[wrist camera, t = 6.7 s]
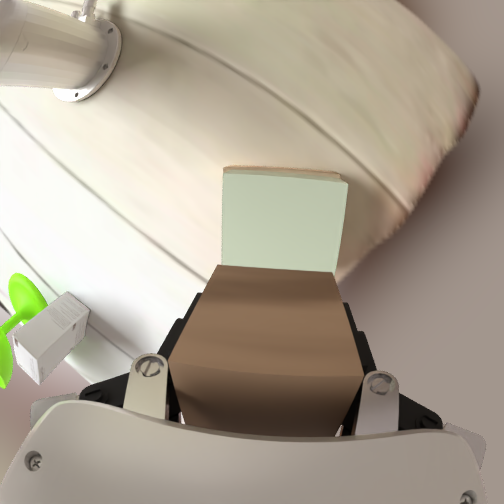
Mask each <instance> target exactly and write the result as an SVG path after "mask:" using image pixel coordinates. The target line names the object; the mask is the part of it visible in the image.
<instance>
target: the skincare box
mask: <svg viewBox="0 0 504 504" xmlns="http://www.w3.org/2000/svg"><path fill="white" fill-rule="evenodd" d="M89 313H90V310H89V309H88V308H87V307H86V306H85V305H83V304H82V303H81V302H80V301H78V300H77V299H76V298H75V297H74V296H72V295H71V294H70V293H69V292H67V291H66V292H65V293H64V294H63V295H61V296H60V297H59V298H57V299H56V300H55V301H54V302H52V303H51V304H50V305H48V306H47V307H46V308H45V309H43V310H42V311H41V312H39V313H38V314H37V315H36V316H34V317H33V318H32V319H31V320H29V321H28V322H27V323H26V324H25V325H23V326H22V327H21V328H20V329H19V330H17V331H16V332H15V333H14V334H13V342H14V352H15V355H16V359H17V364H18V365H19V366H20V367H21V368H22V369H23V370H24V371H25V372H26V373H27V374H28V375H29V376H30V377H31V378H32V379H33V380H34V381H35V382H36V383H37V384H39V385H41V383H42V382H43V381H44V380H45V379H46V378H47V377H48V375H49V374H50V373H51V372H52V371H53V370H54V369H55V368H56V367H57V365H58V364H59V363H60V362H61V361H62V360H63V359H64V358H65V357H66V356H67V355H68V354H69V353H70V352H71V351H72V350H73V348H74V347H75V346H76V345H77V344H78V343H79V342H80V341H81V340H82V339H83V338H84V337H85V330H86V324H87V319H88V316H89Z"/></svg>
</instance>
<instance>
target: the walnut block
mask: <svg viewBox="0 0 504 504" xmlns="http://www.w3.org/2000/svg"><path fill="white" fill-rule="evenodd" d="M168 364H169V368H170V372H171V376H172V380H173V384H174V387H175V391H176V395H177V398H178V402H179V405H180V409H181V412H182V415H183V418H184V422H185V424H186V425H190V426H196V427H201V428H207V429H213V430H219V431H226V432H234V433H242V434H252V435H264V436H280V437H335V435H336V433H337V431H338V429H339V427H340V425H341V424H342V422H343V420H344V418H345V416H346V414H347V412H348V410H349V408H350V406H351V404H352V402H353V400H354V397H355V395H356V393H357V391H358V389H359V387H360V384H361V382H362V380H363V377H364V373H363V369H362V365H361V362H360V358H359V355H358V351H357V348H356V344H355V341H354V337H353V334H352V331H351V327H350V324H349V321H348V318H347V314H346V311H345V308H344V305H343V302H342V299H341V296H340V293H339V290H338V287H337V284H336V281H335V278H334V275H333V273H332V272H321V271H304V270H288V269H273V268H258V267H244V266H230V265H217V267H216V268H215V270H214V272H213V274H212V276H211V278H210V280H209V282H208V283H207V285H206V287H205V289H204V291H203V293H202V295H201V297H200V299H199V300H198V302H197V304H196V306H195V308H194V310H193V312H192V314H191V316H190V318H189V320H188V322H187V323H186V325H185V327H184V329H183V331H182V333H181V335H180V337H179V339H178V341H177V343H176V345H175V347H174V349H173V351H172V353H171V355H170V357H169V359H168Z"/></svg>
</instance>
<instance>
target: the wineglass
mask: <svg viewBox="0 0 504 504" xmlns="http://www.w3.org/2000/svg"><path fill="white" fill-rule="evenodd" d="M8 288H9V296H10V299H11V302H12V305H13V307H14V310H15V311H16V314H15V315H13V316H12V317H11V318H10V319H9V320H8V321H6V322H5V323H4V324H3V325H2V326H1V327H0V387H2V388H4V389H5V388H6V386H7V385H8V383H9V381H10V378H11V375H12V370H13V356H12V351H11V346H10V344H9V341H8V339H7V337H6V334H7V333H8V332H9V331H10V330H11V329H13V328H14V327H15V326H16V325H17V324H18V323H19V322H20V321H22V322H23V324H24V325H25V324H26V323H27V322H28V321H29V320H31V319H32V318H33V317H34V316H36V315H37V314H38V313H39V312H41V311H42V310H43V309H45V308H46V307H47V306H48V305H47V303H46V301H45V299H44V298H43V296H42V295H41V293H40V292H39V290H38V289H37V288H36V286H35V285H34V284H33V283H32V282H31V281H30V280H29V279H28V278H27V277H26V276H24V275H22V274H20V273H15V274H13V275H12V276H11V278H10V280H9V286H8Z"/></svg>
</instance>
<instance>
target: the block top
mask: <svg viewBox="0 0 504 504" xmlns="http://www.w3.org/2000/svg"><path fill="white" fill-rule="evenodd" d="M347 192H348V183H346V182H345V181H343V180H341V179H339V178H333V177H325V176H316V175H306V174H295V173H283V172H270V171H254V170H233V169H232V170H230V171H227V172H225V173H223V190H222V265H230V266H244V267H258V268H273V269H288V270H304V271H321V272H332V273H333V275H334V276H335V271H336V266H337V260H338V254H339V248H340V242H341V236H342V230H343V223H344V216H345V208H346V200H347Z"/></svg>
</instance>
